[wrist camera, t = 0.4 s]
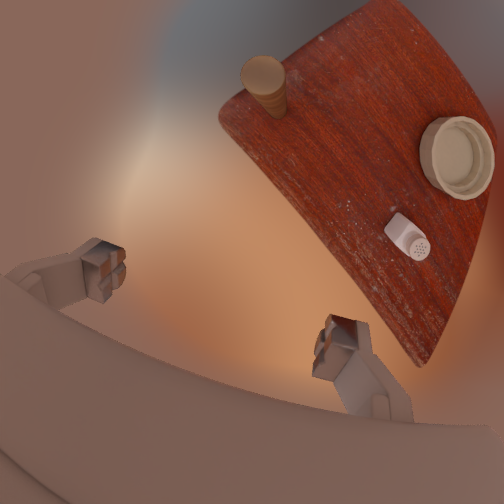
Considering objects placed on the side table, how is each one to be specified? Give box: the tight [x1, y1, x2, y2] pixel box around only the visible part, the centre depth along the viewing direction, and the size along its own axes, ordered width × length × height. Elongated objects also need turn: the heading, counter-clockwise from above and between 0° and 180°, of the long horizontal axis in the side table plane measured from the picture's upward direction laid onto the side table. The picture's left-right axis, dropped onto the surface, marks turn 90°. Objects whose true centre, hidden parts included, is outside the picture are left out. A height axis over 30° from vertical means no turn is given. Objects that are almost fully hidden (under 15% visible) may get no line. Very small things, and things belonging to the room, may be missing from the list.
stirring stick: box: [241, 55, 287, 119], centre depth 27 cm, size 3×3×26 cm
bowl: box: [419, 116, 494, 200], centre depth 35 cm, size 12×13×5 cm
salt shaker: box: [384, 213, 430, 261], centre depth 39 cm, size 4×4×10 cm
